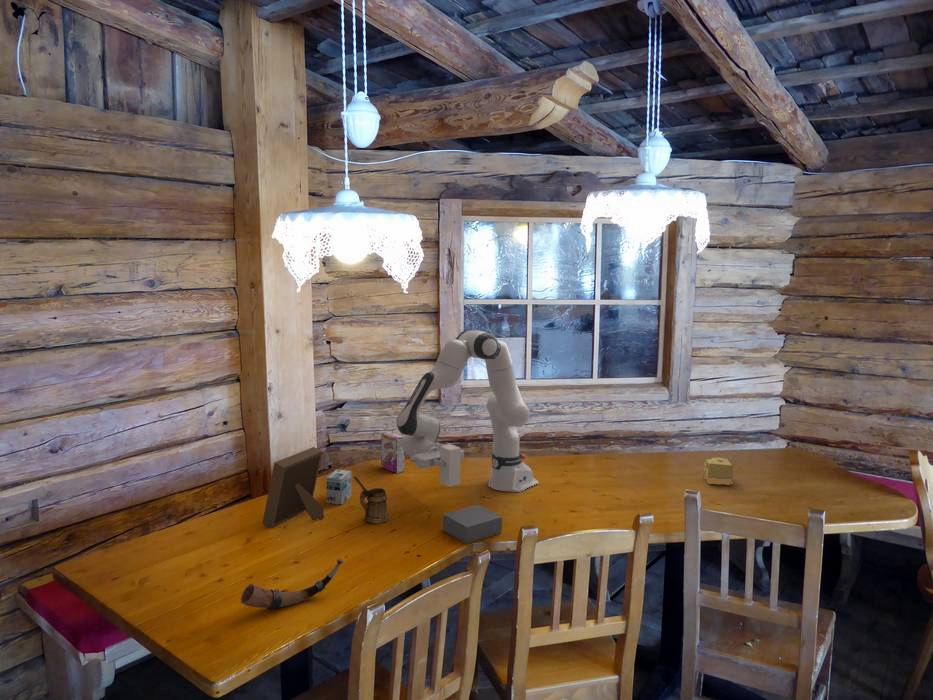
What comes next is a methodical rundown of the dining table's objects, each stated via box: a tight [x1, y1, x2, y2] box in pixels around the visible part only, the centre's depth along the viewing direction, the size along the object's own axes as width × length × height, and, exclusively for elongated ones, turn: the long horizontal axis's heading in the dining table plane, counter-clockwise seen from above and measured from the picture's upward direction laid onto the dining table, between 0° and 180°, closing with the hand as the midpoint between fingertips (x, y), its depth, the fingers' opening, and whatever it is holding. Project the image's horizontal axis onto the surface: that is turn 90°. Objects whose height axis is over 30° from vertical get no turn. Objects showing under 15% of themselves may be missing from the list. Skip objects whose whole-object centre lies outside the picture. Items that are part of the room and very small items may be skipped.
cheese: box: [702, 457, 734, 480], centre depth 312 cm, size 10×11×10 cm
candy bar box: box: [380, 431, 406, 474], centre depth 314 cm, size 11×5×16 cm, turn 46°
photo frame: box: [261, 446, 325, 530], centre depth 255 cm, size 15×22×25 cm
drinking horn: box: [240, 558, 344, 610], centre depth 199 cm, size 6×30×10 cm, turn 125°
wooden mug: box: [353, 475, 390, 525], centre depth 258 cm, size 9×14×18 cm, turn 115°
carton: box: [439, 443, 462, 488], centre depth 260 cm, size 5×6×14 cm
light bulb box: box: [326, 468, 352, 505], centre depth 277 cm, size 11×7×11 cm, turn 168°
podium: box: [442, 504, 503, 545], centre depth 251 cm, size 16×14×6 cm
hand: (451, 463), depth 259 cm, fingers closed on carton, 5 cm apart
